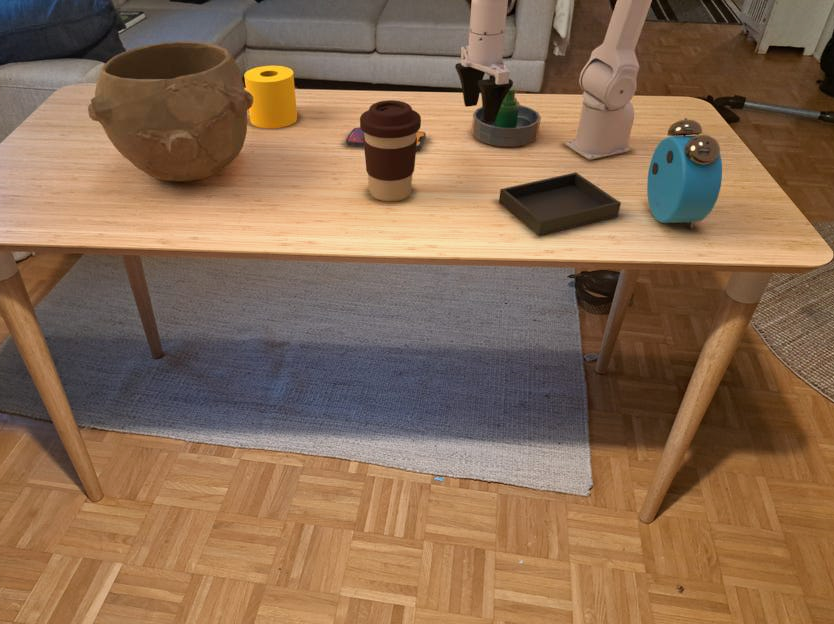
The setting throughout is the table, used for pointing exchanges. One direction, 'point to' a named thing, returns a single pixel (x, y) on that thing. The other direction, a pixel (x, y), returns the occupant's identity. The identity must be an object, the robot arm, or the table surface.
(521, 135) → the dish
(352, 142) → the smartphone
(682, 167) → the alarm clock
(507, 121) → the bottle
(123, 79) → the bowl
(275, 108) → the yellow toilet paper roll
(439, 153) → the table surface
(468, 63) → the robot arm
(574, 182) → the tray
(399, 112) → the coffee cup
